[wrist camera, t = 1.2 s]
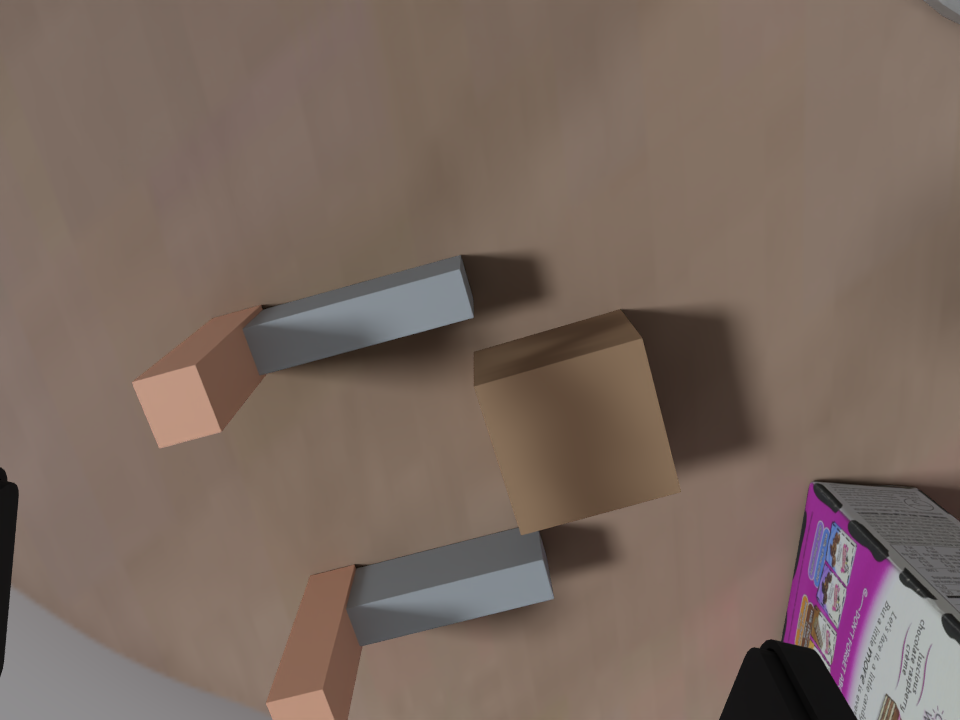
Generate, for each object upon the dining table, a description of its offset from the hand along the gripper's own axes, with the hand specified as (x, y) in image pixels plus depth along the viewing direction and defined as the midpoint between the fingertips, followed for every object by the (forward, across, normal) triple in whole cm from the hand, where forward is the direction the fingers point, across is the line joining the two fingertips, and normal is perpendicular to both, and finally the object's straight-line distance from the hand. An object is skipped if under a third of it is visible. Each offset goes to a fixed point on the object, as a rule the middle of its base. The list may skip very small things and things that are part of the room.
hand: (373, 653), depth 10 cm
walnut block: (+23, -6, +4) cm, 24 cm away
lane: (+22, 0, +7) cm, 23 cm away
